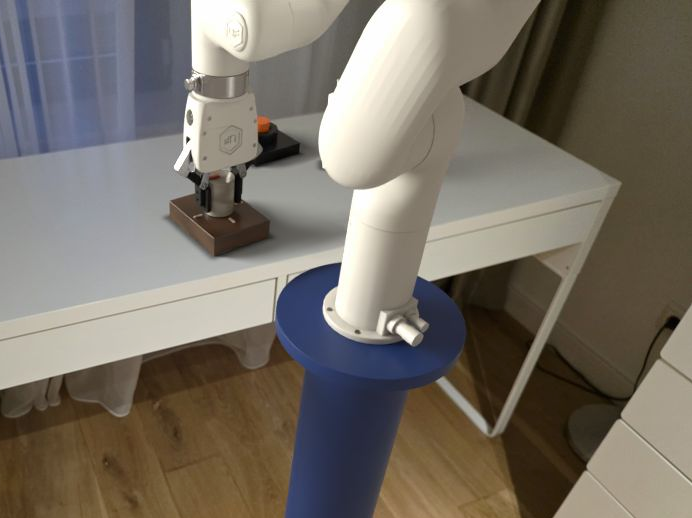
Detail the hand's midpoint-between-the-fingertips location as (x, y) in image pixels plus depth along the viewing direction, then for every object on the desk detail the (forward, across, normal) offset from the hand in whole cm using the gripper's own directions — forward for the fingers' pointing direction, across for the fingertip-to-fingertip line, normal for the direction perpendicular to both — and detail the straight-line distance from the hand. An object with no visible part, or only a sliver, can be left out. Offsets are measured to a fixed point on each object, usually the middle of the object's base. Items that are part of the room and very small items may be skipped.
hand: (218, 203), depth 99 cm
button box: (+4, +22, +20) cm, 30 cm away
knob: (+1, 0, 0) cm, 1 cm away
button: (+1, +22, +20) cm, 30 cm away
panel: (+4, 0, 0) cm, 4 cm away
